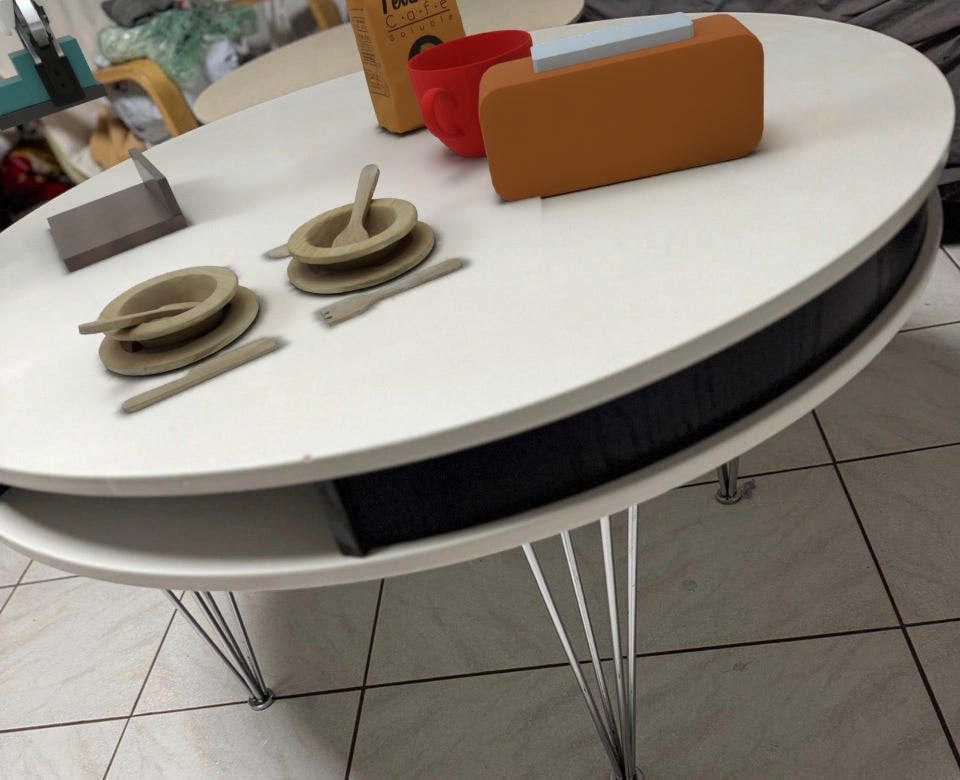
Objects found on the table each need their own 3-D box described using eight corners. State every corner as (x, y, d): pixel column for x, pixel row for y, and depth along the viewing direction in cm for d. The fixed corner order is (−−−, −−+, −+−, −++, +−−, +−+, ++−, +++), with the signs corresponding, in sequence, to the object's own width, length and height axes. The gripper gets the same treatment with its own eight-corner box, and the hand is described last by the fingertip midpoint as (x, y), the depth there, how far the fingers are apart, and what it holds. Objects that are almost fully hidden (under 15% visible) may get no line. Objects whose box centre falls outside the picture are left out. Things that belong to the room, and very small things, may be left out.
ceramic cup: (390, 190, 85) (362, 89, 79) (462, 129, 96) (442, 37, 90) (502, 186, 79) (480, 77, 73) (565, 122, 90) (551, 23, 84)
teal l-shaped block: (1, 131, 82) (-32, 71, 78) (-3, 123, 86) (-35, 66, 82) (108, 95, 85) (81, 36, 82) (99, 89, 89) (73, 33, 86)
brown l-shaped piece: (72, 275, 85) (42, 223, 82) (54, 232, 99) (27, 185, 95) (189, 229, 89) (165, 177, 85) (157, 193, 102) (135, 146, 99)
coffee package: (490, 112, 99) (448, -104, 85) (395, 145, 97) (336, -72, 83) (462, 97, 107) (419, -104, 93) (373, 127, 105) (316, -74, 91)
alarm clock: (742, 125, 78) (740, -8, 71) (764, 154, 72) (765, 11, 65) (496, 176, 82) (472, 54, 75) (496, 208, 75) (470, 78, 68)
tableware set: (123, 421, 59) (81, 351, 55) (93, 326, 74) (58, 266, 70) (478, 266, 67) (462, 196, 63) (387, 208, 81) (369, 148, 78)
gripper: (-80, -94, 80) (23, 100, 91) (-78, -103, 67) (40, 123, 78) (-2, -113, 82) (89, 78, 93) (13, -126, 69) (116, 97, 80)
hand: (65, 96), depth 86 cm, fingers closed on teal l-shaped block, 5 cm apart
